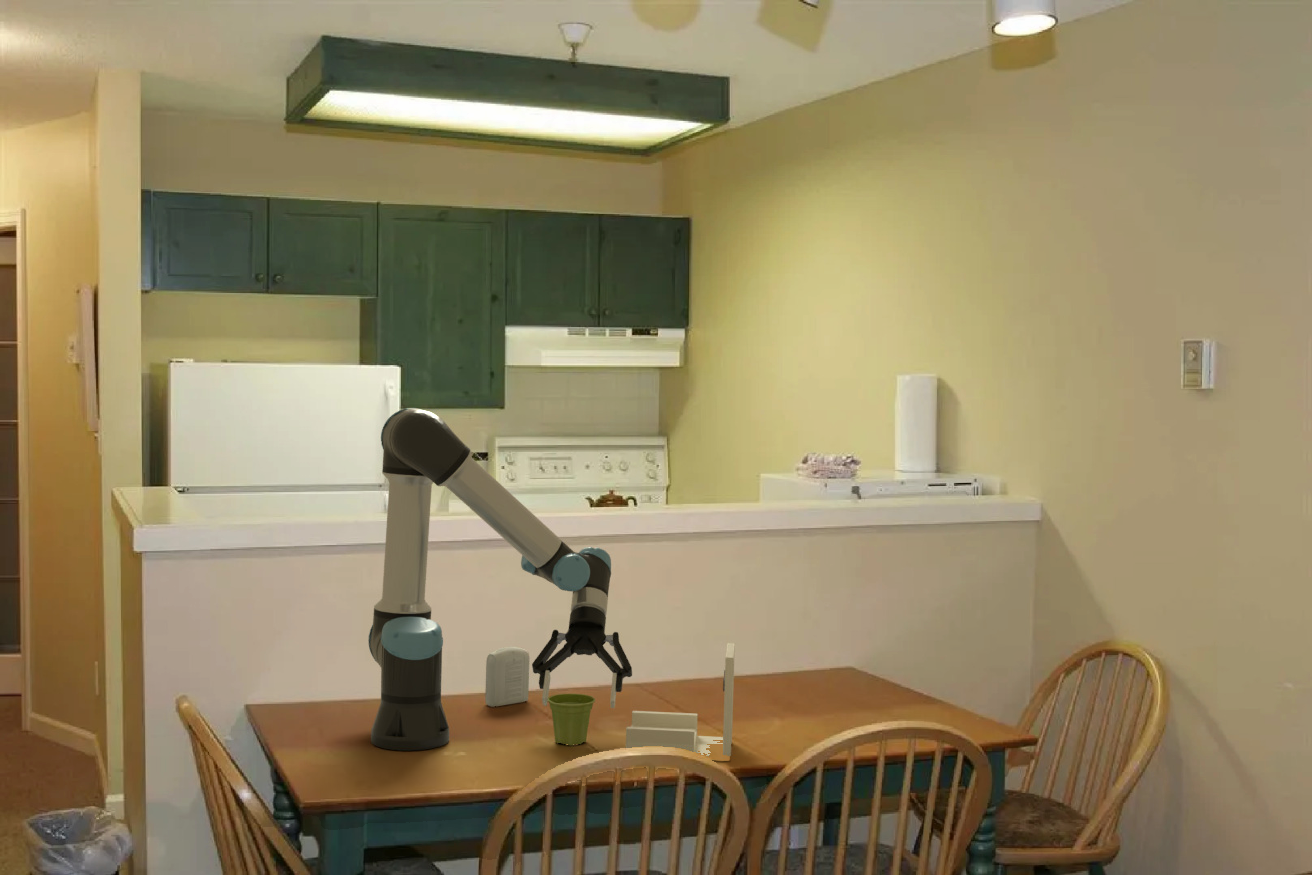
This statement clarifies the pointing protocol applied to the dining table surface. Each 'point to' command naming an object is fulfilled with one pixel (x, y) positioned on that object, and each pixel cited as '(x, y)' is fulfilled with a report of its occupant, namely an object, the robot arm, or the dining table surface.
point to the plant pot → (571, 717)
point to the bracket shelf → (684, 722)
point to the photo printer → (507, 676)
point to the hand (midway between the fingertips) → (578, 703)
